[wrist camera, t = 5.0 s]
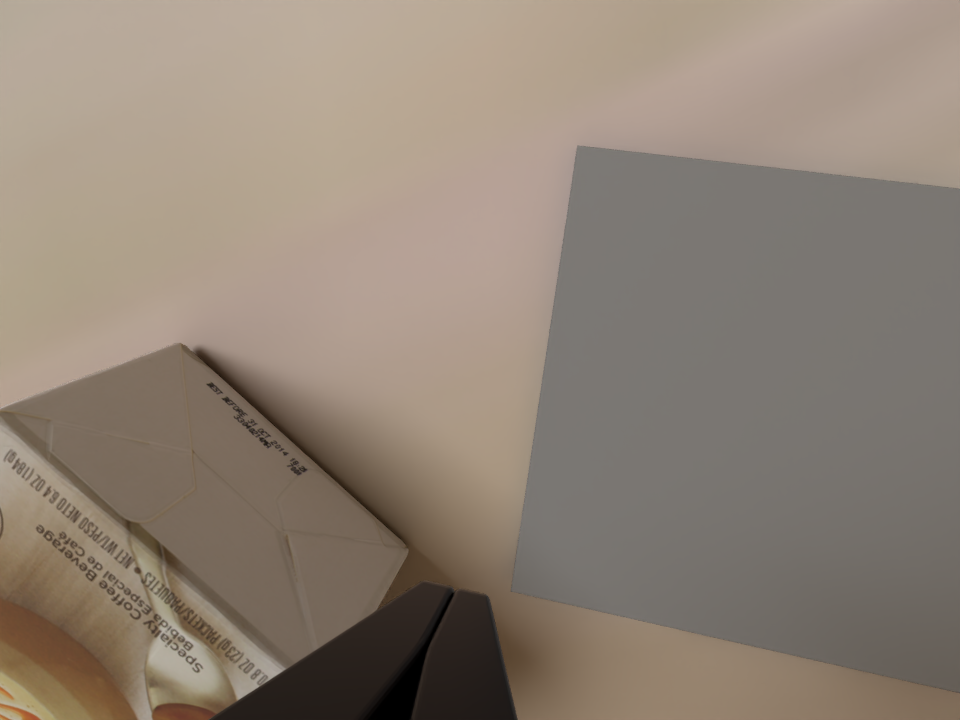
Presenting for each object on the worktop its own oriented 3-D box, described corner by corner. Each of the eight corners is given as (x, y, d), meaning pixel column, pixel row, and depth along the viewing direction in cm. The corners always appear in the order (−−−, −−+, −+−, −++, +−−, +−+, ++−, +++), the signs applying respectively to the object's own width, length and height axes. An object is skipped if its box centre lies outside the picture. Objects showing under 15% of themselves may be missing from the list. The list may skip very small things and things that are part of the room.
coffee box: (322, 712, 13) (-1, 1006, 19) (416, 543, 19) (152, 801, 25) (-28, 403, 13) (-253, 791, 18) (179, 331, 19) (-35, 638, 24)
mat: (513, 583, 19) (510, 591, 19) (578, 146, 15) (577, 145, 15) (970, 685, 17) (978, 697, 17) (1163, 212, 13) (1180, 213, 13)
